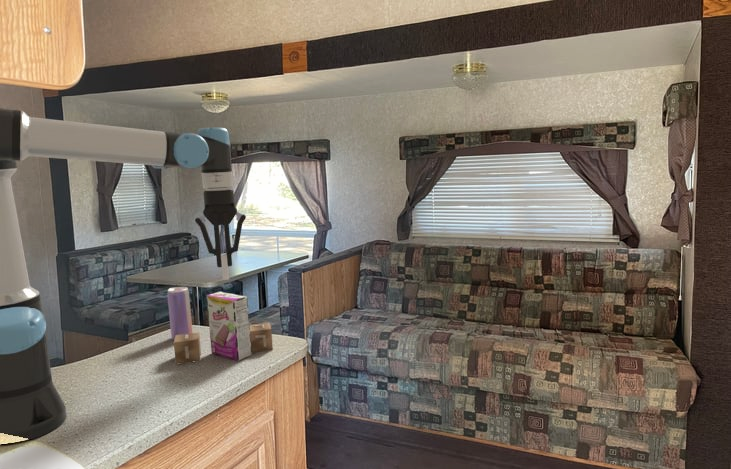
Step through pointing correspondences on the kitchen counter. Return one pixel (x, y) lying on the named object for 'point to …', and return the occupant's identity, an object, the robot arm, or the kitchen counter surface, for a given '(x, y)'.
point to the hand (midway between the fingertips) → (225, 278)
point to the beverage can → (179, 311)
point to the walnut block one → (187, 348)
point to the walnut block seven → (260, 337)
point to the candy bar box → (229, 325)
